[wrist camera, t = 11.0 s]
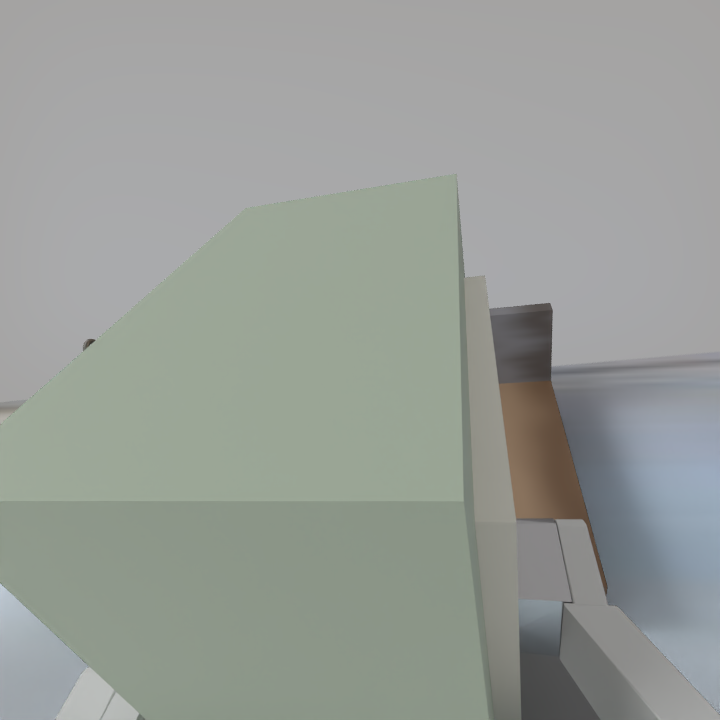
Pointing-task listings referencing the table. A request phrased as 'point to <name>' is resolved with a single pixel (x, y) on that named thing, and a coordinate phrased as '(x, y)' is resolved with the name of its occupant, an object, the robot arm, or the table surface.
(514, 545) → the green pillar on base
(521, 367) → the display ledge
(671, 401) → the table surface
